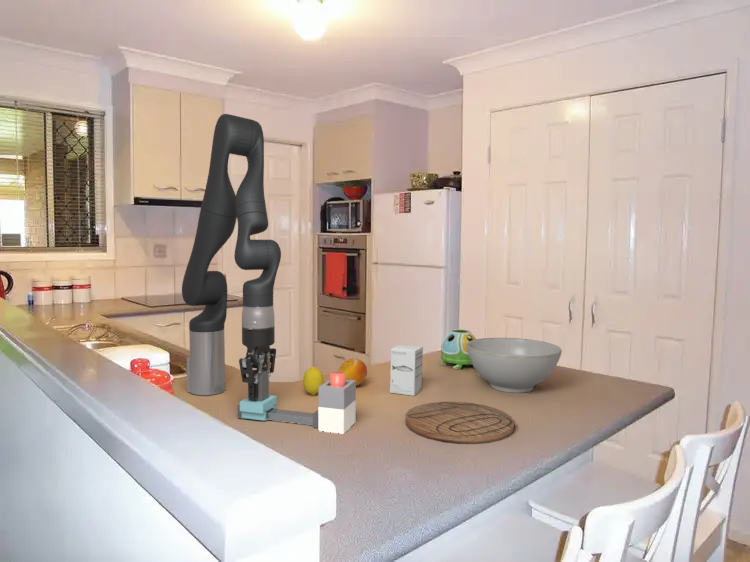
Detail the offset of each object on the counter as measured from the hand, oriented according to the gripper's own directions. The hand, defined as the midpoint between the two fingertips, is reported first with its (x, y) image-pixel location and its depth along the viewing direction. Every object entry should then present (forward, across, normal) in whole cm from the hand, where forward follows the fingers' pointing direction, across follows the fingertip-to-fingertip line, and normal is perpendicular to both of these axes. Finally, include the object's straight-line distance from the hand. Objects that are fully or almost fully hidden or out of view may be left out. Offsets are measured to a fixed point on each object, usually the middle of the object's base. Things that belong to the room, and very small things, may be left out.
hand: (258, 395), depth 132 cm
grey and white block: (+5, 0, +20) cm, 21 cm away
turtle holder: (+6, -69, +39) cm, 79 cm away
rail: (+5, 0, +6) cm, 8 cm away
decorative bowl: (+6, -48, +56) cm, 74 cm away
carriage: (+5, 0, 0) cm, 5 cm away
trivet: (+6, -11, +46) cm, 48 cm away
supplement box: (+6, -33, +28) cm, 44 cm away
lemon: (+6, -21, +5) cm, 22 cm away
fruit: (+6, -33, +12) cm, 36 cm away
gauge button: (-1, 0, +20) cm, 20 cm away
